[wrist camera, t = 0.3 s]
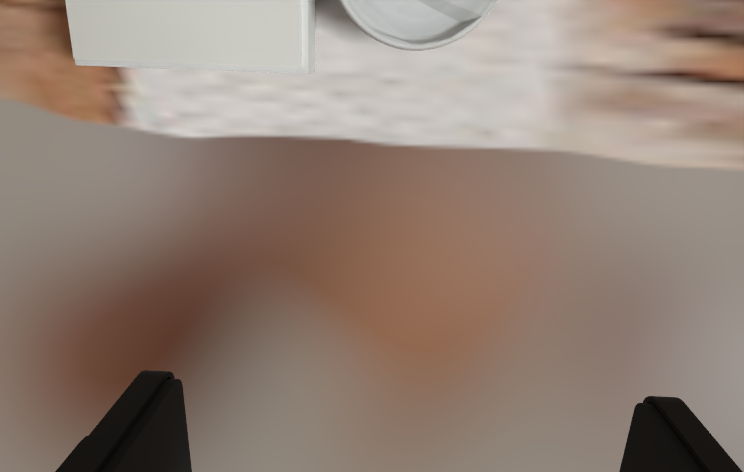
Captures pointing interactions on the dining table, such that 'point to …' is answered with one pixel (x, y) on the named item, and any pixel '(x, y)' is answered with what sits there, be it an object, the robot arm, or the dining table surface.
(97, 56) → the stand
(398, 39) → the ramekin
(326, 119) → the dining table surface
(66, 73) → the dining table surface
